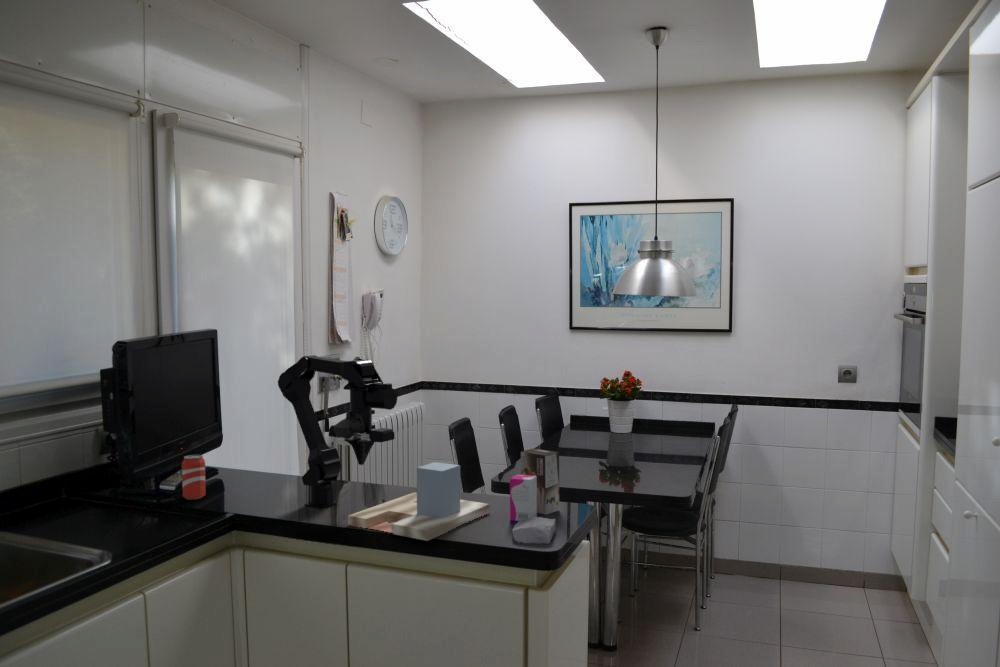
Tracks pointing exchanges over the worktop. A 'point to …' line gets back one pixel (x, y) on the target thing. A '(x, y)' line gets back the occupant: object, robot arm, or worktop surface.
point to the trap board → (414, 518)
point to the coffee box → (543, 477)
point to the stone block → (534, 530)
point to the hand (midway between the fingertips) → (361, 464)
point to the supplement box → (523, 497)
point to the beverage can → (193, 477)
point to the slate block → (438, 489)
